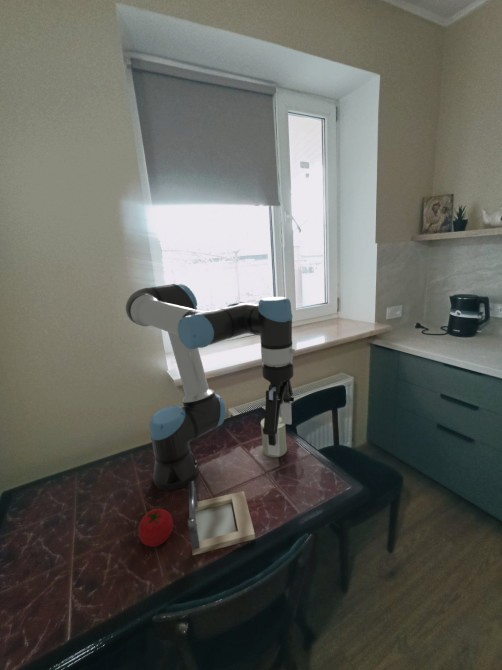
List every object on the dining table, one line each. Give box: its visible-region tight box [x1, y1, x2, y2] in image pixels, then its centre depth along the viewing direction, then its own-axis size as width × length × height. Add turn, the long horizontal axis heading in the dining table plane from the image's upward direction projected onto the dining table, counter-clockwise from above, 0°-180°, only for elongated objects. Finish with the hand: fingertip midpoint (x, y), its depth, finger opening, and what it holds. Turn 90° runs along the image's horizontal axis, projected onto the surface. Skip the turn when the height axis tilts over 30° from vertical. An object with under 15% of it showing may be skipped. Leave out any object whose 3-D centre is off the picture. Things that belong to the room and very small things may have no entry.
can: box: [260, 416, 288, 458], centre depth 109 cm, size 9×9×12 cm
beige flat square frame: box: [191, 490, 256, 556], centre depth 81 cm, size 16×15×2 cm
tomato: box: [137, 508, 174, 548], centre depth 77 cm, size 9×9×8 cm
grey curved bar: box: [187, 480, 200, 551], centre depth 78 cm, size 2×17×9 cm, turn 12°
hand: (280, 437), depth 77 cm, fingers open, 13 cm apart
